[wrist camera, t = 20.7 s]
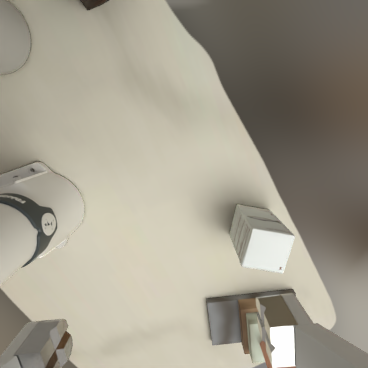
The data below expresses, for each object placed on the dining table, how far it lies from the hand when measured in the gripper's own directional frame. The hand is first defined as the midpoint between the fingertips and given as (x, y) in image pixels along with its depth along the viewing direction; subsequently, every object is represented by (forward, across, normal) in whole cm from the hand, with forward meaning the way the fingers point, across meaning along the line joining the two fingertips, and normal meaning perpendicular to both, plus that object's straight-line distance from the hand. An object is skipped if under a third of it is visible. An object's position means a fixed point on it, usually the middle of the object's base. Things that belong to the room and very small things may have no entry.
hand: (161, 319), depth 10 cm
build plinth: (+39, -12, +38) cm, 56 cm away
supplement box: (+39, -13, +14) cm, 44 cm away
